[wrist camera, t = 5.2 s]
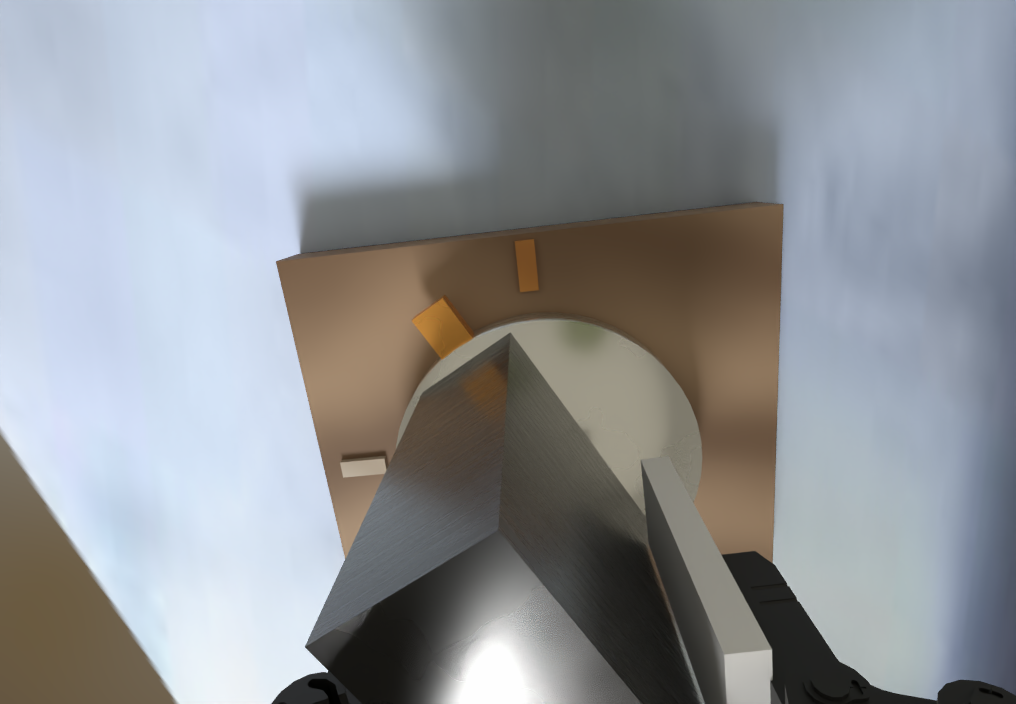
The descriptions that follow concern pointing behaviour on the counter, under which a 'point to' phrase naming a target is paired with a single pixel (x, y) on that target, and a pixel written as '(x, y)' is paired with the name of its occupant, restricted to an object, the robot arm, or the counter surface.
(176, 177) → the counter surface
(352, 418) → the dial base plate
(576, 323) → the dial knob
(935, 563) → the counter surface
